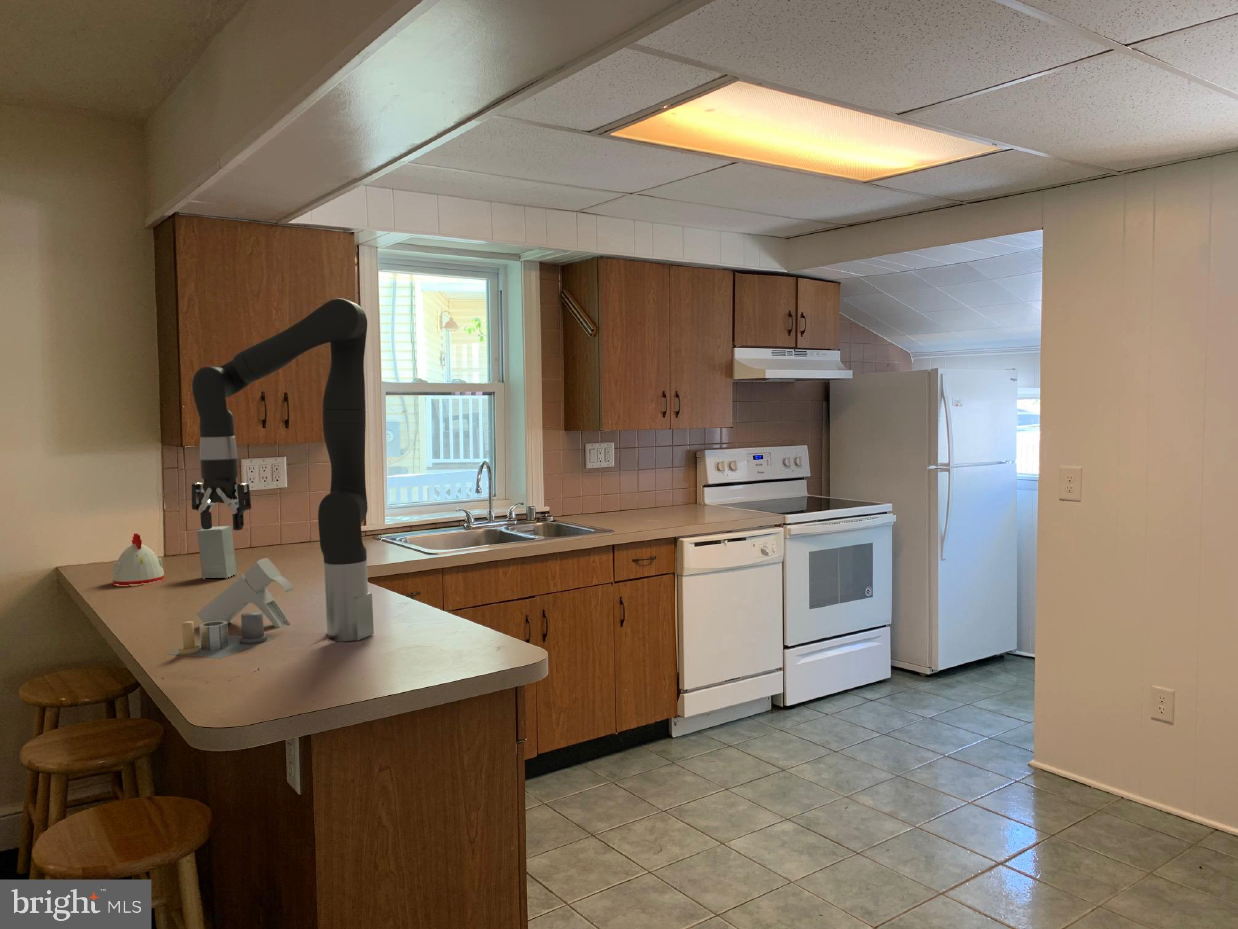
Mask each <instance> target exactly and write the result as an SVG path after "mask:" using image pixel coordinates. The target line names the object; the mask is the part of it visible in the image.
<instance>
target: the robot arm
mask: <svg viewBox="0 0 1238 929" xmlns="http://www.w3.org/2000/svg"><path fill="white" fill-rule="evenodd" d="M367 332H368V318H367V314H366V312H365V311H364V309H363V308H362V307H361V306H360V305H359V304H357V303H355V302H354V301H351V300H348V299H345V298H341V297H340V298H333V299H332V298H331V299H329V300H327V301H326V302H324V303H323V304H322V305H321V306H319V307H318V308H317V309H314V310H313V311H312V312H311V313H309V314H308V315H307V316H306V317H304V318H302V319H301V320H300V321H297V323H295V324H294V325H293V324H292V326H290V327H288V328H286V329H284V330H282V331H281V332H279V333H276V334H274V335H273V336H271V337H268V338H266V339H264V340H261V341H260V342H258V343H255V344H254V345H252V346H250V347H247V348H246V349H244V350H241V351H240V352H239V353H237V354H235V355H234V356H233V359H232V360H230V361H227V362H226V363H224V364H223V365H219V366H202V367H200V368H199V369H197V371H196V372H195V373H194V375H193V377H192V384H191V388H192V389H191V391H192V395H193V400H194V403H195V408H196V410H197V413H198V417H199V435H200V440H199V459H200V477H201V479H202V480H203V482H194V483H192V484H191V509H192V510H193V511H197V512H198V513H199V514H200V525H201V529H204V530H207V529H211V528H212V527H213V520H212V518H213V517H212V512H211V510H212V509H213V506H214V505H216V504H217V503H219V504H220V503H221V504H225V505H226V506H227V507H229V508H230V510H231V511H232V531H241V530H243V528H244V526H245V524H244V523H245V521H244V520H245V519H244V513H245V512H246V511H248V510H251V509H252V503H251V492H250V490H251V489H250V483H248V482H245V483H243V482H242V483H237V477H238V476H239V471H238V470H239V469H238V468H239V467H238V448H237V443H236V436H235V431H236V430H235V418H234V415H233V413H232V412H231V411H230V410H229V409H228V406H227V399H226V398H230V397H232V396H233V395H235V394H237V393H239V392H240V391H242V390H244V389H245V388H246V387H248V386H249V385H251V384H252V383H254V382H256V381H259V380H260V379H263V378H265V377H267V376H269V375H271V374H273V373H275V372H277V371H279V370H282V368H284V367H286V366H287V365H289V364H290V363H291V362H292V361H294V360H295V359H297V358H298V357H299V356H301V355H302V354H304V353H306V352H308V351H310V350H313V349H314V348H316V347H318V346H321V345H325V344H330V367H329V369H330V370H329V374H328V376H327V380H326V384H325V388H324V393H323V397H322V398H323V399H322V432H323V433H322V434H323V439H324V443H325V446H326V450H327V453H328V457H329V461H330V469H331V471H330V473H331V477H330V490H329V493H328V494H327V495H325V496H324V497H323V498H322V499H321V501H320V503H319V506H318V510H317V520H318V521H317V522H318V523H317V524H318V534H319V535H318V536H319V545H320V546H319V547H320V551H321V553H322V557H323V571H324V572H323V573H324V574H323V575H324V594H325V596H324V597H325V616H326V618H325V619H326V632H327V636H330V637H328V638H327V640H329V641H333V642H351V641H352V642H353V641H361V640H363V639H365V638H368V637H370V636H372V635H374V634H375V633H374V610H373V609H374V608H373V606H374V605H373V593H371V592H369V589H368V588H369V586H368V585H369V583H368V561H367V559H368V558H367V548H366V547H365V545H364V543H363V537H362V523H363V522H364V520H365V519H366V517H367V514H368V506H369V505H368V499H367V497H368V496H367V489H366V480H365V450H366V423H367V422H366V420H367V419H366V412H367V411H366V384H365V383H366V382H365V368H364V367H365V352H366V342H367V341H366V340H367V335H368V334H367Z"/></svg>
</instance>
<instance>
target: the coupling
mask: <svg viewBox="0 0 1238 929" xmlns="http://www.w3.org/2000/svg"><path fill="white" fill-rule="evenodd" d="M228 630H229V626H228V623H227V621H211V622H205V623H203V622H202V623H200V624H199V640H200V641H199V643H200V645H201V650H217V649H223V648H225V647H228V646H229V643H228V635H229V631H228Z"/></svg>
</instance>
